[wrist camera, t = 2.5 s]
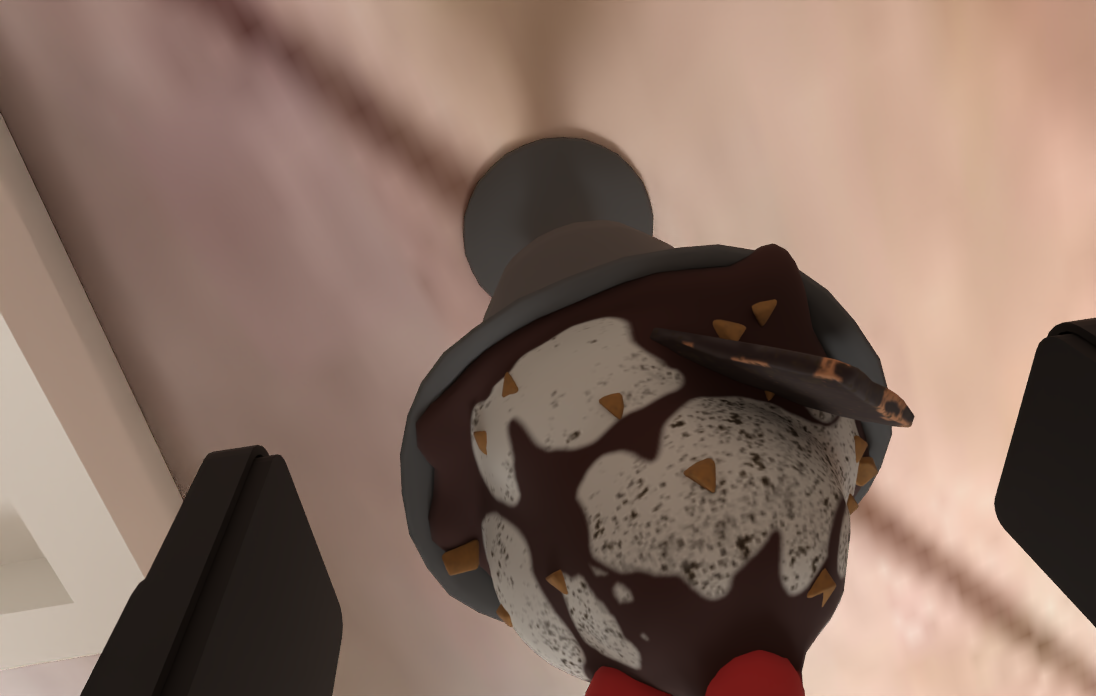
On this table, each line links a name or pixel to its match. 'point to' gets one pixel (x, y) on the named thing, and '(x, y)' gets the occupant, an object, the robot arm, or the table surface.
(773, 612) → the sundae
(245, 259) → the table surface
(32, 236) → the tray
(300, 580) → the robot arm
